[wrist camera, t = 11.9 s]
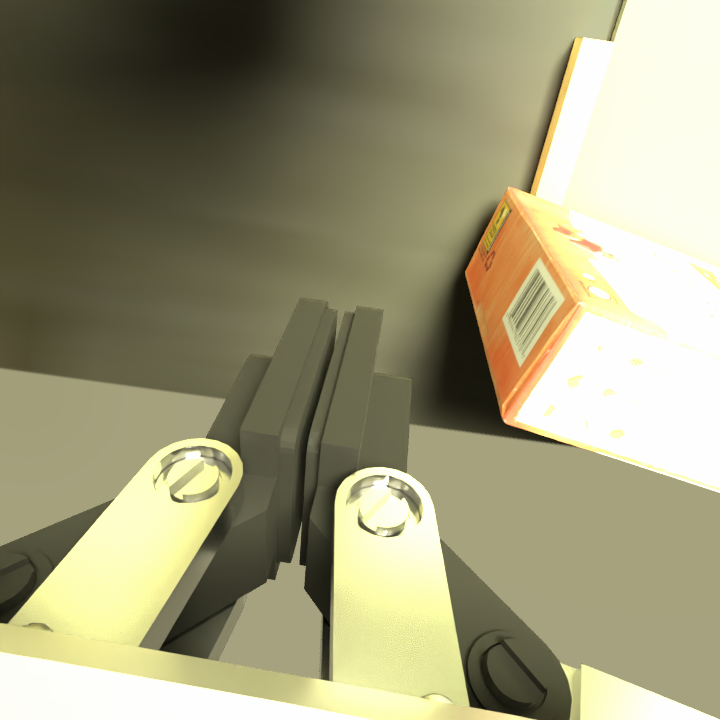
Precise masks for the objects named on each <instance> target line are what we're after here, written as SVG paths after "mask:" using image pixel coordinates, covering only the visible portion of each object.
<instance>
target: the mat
mask: <svg viewBox="0 0 720 720" xmlns="http://www.w3.org/2000/svg"><path fill="white" fill-rule="evenodd" d="M530 194H531V195H534V196H536V197H539V198H541V199H544V200H546V201H549V202H551V203H554V204H557V205H559V206H562V207H564V208H567V209H569V210H572V211H574V212H577V213H579V214H582V215H585V216H587V217H590V218H592V219H595V220H597V221H599V222H602V223H604V224H607V225H609V226H612V227H615V228H617V229H620V230H622V231H625V232H627V233H630V234H633V235H635V236H638V237H640V238H643V239H646V240H648V241H651V242H653V243H656V244H658V245H661V246H664V247H666V248H669V249H671V250H674V251H677V252H679V253H682V254H684V255H687V256H689V257H692V258H694V259H697V260H699V261H702V262H705V263H707V264H709V265H712V266H714V267H717V268H719V269H720V0H624V1H623V4H622V7H621V10H620V13H619V16H618V19H617V22H616V25H615V29H614V32H613V35H612V38H611V41H602V40H595V39H588V38H580V37H576V38H575V41H574V45H573V48H572V51H571V55H570V58H569V62H568V65H567V69H566V72H565V75H564V79H563V82H562V86H561V89H560V92H559V96H558V99H557V103H556V106H555V110H554V113H553V116H552V120H551V123H550V127H549V130H548V134H547V137H546V140H545V144H544V147H543V151H542V154H541V157H540V161H539V164H538V168H537V171H536V175H535V178H534V181H533V185H532V188H531V192H530Z"/></svg>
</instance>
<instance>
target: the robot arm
mask: <svg viewBox="0 0 720 720" xmlns="http://www.w3.org/2000/svg"><path fill="white" fill-rule="evenodd" d="M382 317H383V310H381V309H374V308H367V307H361V306H357V307H356V311H355V313H353V312H345V314H344V317H343V321H342V324H341V328H340V331H339V334H338V338H337V341H336V345H335V336H336V325H337V310H333V309H328V302H327V301H321V300H314V299H307V298H300V300H299V302H298V304H297V306H296V308H295V310H294V313H293V315H292V317H291V319H290V321H289V323H288V326H287V328H286V330H285V332H284V334H283V336H282V339H281V341H280V343H279V345H278V347H277V350H276V352H275V354H274V356H273V357H269V356H262V355H256V354H252V355H250V356H249V358H248V359H247V361H246V363H245V365H244V366H243V368H242V370H241V372H240V374H239V376H238V378H237V380H236V382H235V383H234V385H233V387H232V389H231V391H230V393H229V395H228V397H227V399H226V400H225V402H224V404H223V406H222V408H221V410H220V412H219V414H218V416H217V417H216V420H215V421H214V423H213V425H212V427H211V429H210V431H209V433H208V434H207V436H206V438H205V439H204V438H200V439H187V440H183V441H180V442H176V443H173V444H171V445H169V446H167V447H165V448H163V449H162V450H159V451H158V452H157V453H156V454H155V455H154V456H153V457H152V458H150V459H149V460H148V462H147V463H146V464H145V465H144V466H143V467H142V468H141V470H140V471H139V472H138V473H137V474H136V475H135V477H134V478H133V479H132V480H131V481H130V482H129V483H128V485H127V486H126V487H125V488H124V489H123V490H122V492H121V493H120V494H119V495H118V496H117V497H116V499H113V500H111V501H108V502H106V503H104V504H101V505H99V506H96V507H94V508H92V509H89V510H87V511H84V512H82V513H79V514H77V515H75V516H72V517H70V518H68V519H65V520H63V521H60V522H58V523H55V524H53V525H51V526H48V527H46V528H43V529H41V530H39V531H37V532H34V533H31V534H29V535H27V536H24V537H22V538H20V539H17V540H15V541H12V542H10V543H7V544H5V545H3V546H0V720H719V719H717V718H715V717H712V716H710V715H707V714H704V713H702V712H700V711H697V710H695V709H692V708H690V707H688V706H685V705H682V704H680V703H678V702H675V701H673V700H670V699H668V698H665V697H663V696H660V695H658V694H655V693H653V692H650V691H648V690H646V689H643V688H641V687H638V686H636V685H633V684H631V683H628V682H626V681H623V680H621V679H618V678H616V677H614V676H611V675H609V674H606V673H604V672H601V671H599V670H596V669H594V668H592V667H589V666H587V665H584V664H581V665H580V666H579V668H578V669H575V668H572V667H569V666H567V665H565V664H562V663H560V662H559V660H558V659H557V658H556V656H555V655H554V654H553V653H552V651H551V650H550V649H549V648H548V646H547V645H546V644H545V643H544V642H543V641H542V640H541V639H540V638H539V637H538V636H537V635H536V634H535V633H534V632H533V631H532V630H531V629H530V628H529V627H528V626H527V625H526V624H525V623H524V622H523V621H522V620H521V619H520V618H519V617H518V616H517V615H516V614H515V613H514V612H513V611H512V610H511V609H510V608H509V607H508V606H507V605H506V604H505V603H504V602H503V601H502V600H501V599H500V598H499V597H498V596H497V595H496V594H495V593H494V592H493V591H492V590H491V589H490V588H489V587H488V586H487V585H486V584H485V583H484V582H483V581H482V580H481V579H480V578H479V577H478V576H477V575H476V574H475V573H474V572H473V571H472V570H471V569H470V568H469V567H468V566H467V565H466V564H465V563H464V562H463V561H462V560H461V559H460V558H459V557H458V556H457V555H456V554H455V553H454V552H453V551H452V550H451V549H450V548H449V547H448V546H447V545H446V544H445V543H444V542H443V541H442V540H441V539H440V538H439V534H438V529H437V523H436V517H435V512H434V506H433V503H432V501H431V498H430V495H429V494H428V492H427V491H426V490H425V488H424V487H423V486H422V485H421V484H420V483H419V482H418V481H417V480H415V479H414V478H412V477H411V476H410V475H408V474H406V470H407V454H408V438H409V423H410V407H411V390H412V379H411V378H404V377H398V376H392V375H385V374H379V373H374V371H375V365H376V358H377V351H378V344H379V338H380V331H381V324H382ZM334 347H335V348H334ZM301 522H302V532H301V548H300V565H304V566H306V572H305V586H304V589H305V591H306V592H307V593H308V595H309V596H310V598H311V599H312V600H313V602H314V603H315V604H316V606H317V607H318V609H319V610H320V612H321V613H322V618H321V639H320V670H319V672H320V674H319V679H314V678H308V677H303V676H297V675H292V674H286V673H280V672H275V671H269V670H264V669H258V668H252V667H247V666H241V665H236V664H231V663H225V662H219V661H218V660H219V658H220V655H221V654H222V652H223V650H224V648H225V645H226V643H227V641H228V639H229V637H230V635H231V633H232V631H233V629H234V627H235V625H236V623H237V620H238V618H239V617H240V614H241V613H242V610H243V608H244V605H245V602H246V599H247V593H249V592H251V591H252V590H254V589H256V588H257V587H259V586H261V585H262V584H264V583H266V581H267V579H272V580H275V578H276V575H277V571H278V567H279V564H280V562H286V563H291V560H292V557H293V553H294V550H295V546H296V542H297V538H298V534H299V530H300V526H301Z"/></svg>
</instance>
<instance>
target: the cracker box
mask: <svg viewBox="0 0 720 720" xmlns="http://www.w3.org/2000/svg"><path fill="white" fill-rule="evenodd" d="M465 275H466V279H467V283H468V287H469V291H470V295H471V298H472V302H473V306H474V310H475V314H476V318H477V321H478V326H479V330H480V334H481V337H482V341H483V345H484V349H485V353H486V357H487V361H488V365H489V369H490V373H491V377H492V380H493V383H494V388H495V392H496V396H497V400H498V404H499V408H500V413H501V417H502V419H503V421H504V422H505V423H506V424H508V425H511V426H514V427H518V428H521V429H524V430H527V431H530V432H533V433H536V434H539V435H542V436H545V437H549V438H552V439H555V440H558V441H561V442H564V443H568V444H571V445H574V446H577V447H580V448H583V449H587V450H590V451H593V452H595V453H598V454H601V455H605V456H607V457H611V458H614V459H617V460H620V461H623V462H626V463H629V464H632V465H636V466H639V467H642V468H645V469H648V470H651V471H654V472H658V473H660V474H664V475H667V476H670V477H673V478H676V479H679V480H682V481H685V482H688V483H691V484H694V485H697V486H701V487H704V488H707V489H710V490H713V491H716V492H719V493H720V269H719V268H717V267H714V266H712V265H709V264H707V263H705V262H702V261H699V260H697V259H694V258H692V257H689V256H687V255H684V254H682V253H679V252H677V251H674V250H671V249H669V248H666V247H664V246H661V245H658V244H656V243H653V242H651V241H648V240H646V239H643V238H640V237H638V236H635V235H633V234H630V233H627V232H625V231H622V230H620V229H617V228H615V227H612V226H609V225H607V224H604V223H602V222H599V221H597V220H595V219H592V218H590V217H587V216H585V215H582V214H579V213H577V212H574V211H572V210H569V209H567V208H564V207H562V206H559V205H557V204H554V203H551V202H549V201H546V200H544V199H541V198H539V197H536V196H534V195H531V194H528V193H526V192H523V191H520V190H518V189H515V188H512V187H508V189H507V190H506V192H505V194H504V196H503V197H502V199H501V201H500V203H499V205H498V206H497V209H496V211H495V213H494V215H493V217H492V219H491V221H490V223H489V225H488V227H487V229H486V231H485V233H484V235H483V237H482V239H481V240H480V242H479V245H478V247H477V249H476V251H475V253H474V255H473V257H472V259H471V261H470V263H469V265H468V267H467V269H466V271H465Z"/></svg>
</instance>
